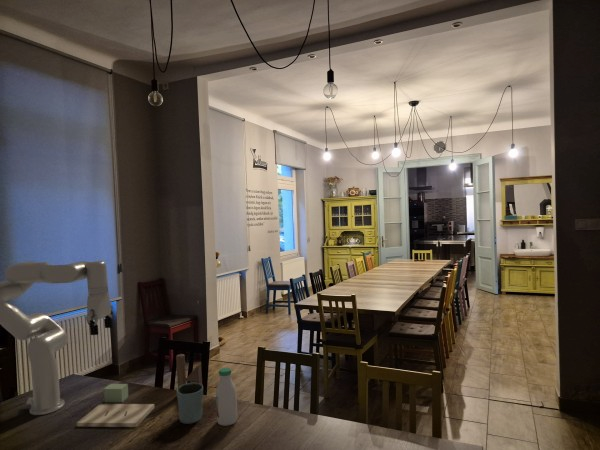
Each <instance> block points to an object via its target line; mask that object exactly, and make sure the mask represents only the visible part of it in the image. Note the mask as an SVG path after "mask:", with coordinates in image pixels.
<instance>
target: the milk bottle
mask: <svg viewBox="0 0 600 450" xmlns="http://www.w3.org/2000/svg"><path fill="white" fill-rule="evenodd" d="M218 377H219V380H218V383H217V386H216V392H215V404H216V405H215V406H216V421H217V424H218V425H220V426H225V427H226V426H227V427H228V426H231V425H234V424H235V423H237V421H238V415H239V414H238V399H237V388H236V385H235V383H234V381H233V379H232V368H230V367H221V368H220V369H219V370H218Z"/></svg>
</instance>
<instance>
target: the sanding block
mask: <svg viewBox="0 0 600 450" xmlns="http://www.w3.org/2000/svg"><path fill="white" fill-rule="evenodd" d="M103 395H104V404H125V402H126V401H127V400H129V383H110V384H109V385H107V386H106V387H105V388H103Z"/></svg>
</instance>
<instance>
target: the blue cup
mask: <svg viewBox="0 0 600 450" xmlns="http://www.w3.org/2000/svg"><path fill="white" fill-rule="evenodd" d="M176 389H177V392H176V398H177V405H178V406H177V407H178V417H179V421H180V423H182V424H185V425H186V424H195V423H197V422H199V421H201V419H202V418H203V403H204V402H203V398H204V397H203V396H204V386H203V383H202V384H200V383H191V382H186V384H183V385H181V386H179V387H178V386H177V388H176Z"/></svg>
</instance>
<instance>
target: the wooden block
mask: <svg viewBox="0 0 600 450" xmlns="http://www.w3.org/2000/svg"><path fill="white" fill-rule="evenodd" d="M185 359H186V356H185V354H184V353H180V354H177V355H176V356H175V360H176V376H177V379H176V380H177V388H178V387H179V386H181V385H183V384H187V382H190V383H200V384H202V385H203V377H202V376H203V375H202V374H203V373H202V362H200V363H199V364H198V365H197V366H196V367H195V368H194V369H193V370H192V371H191V372H190V374H189V375H188V376H187V375H186V374H187V373H186V360H185ZM177 388H176V393H177Z"/></svg>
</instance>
